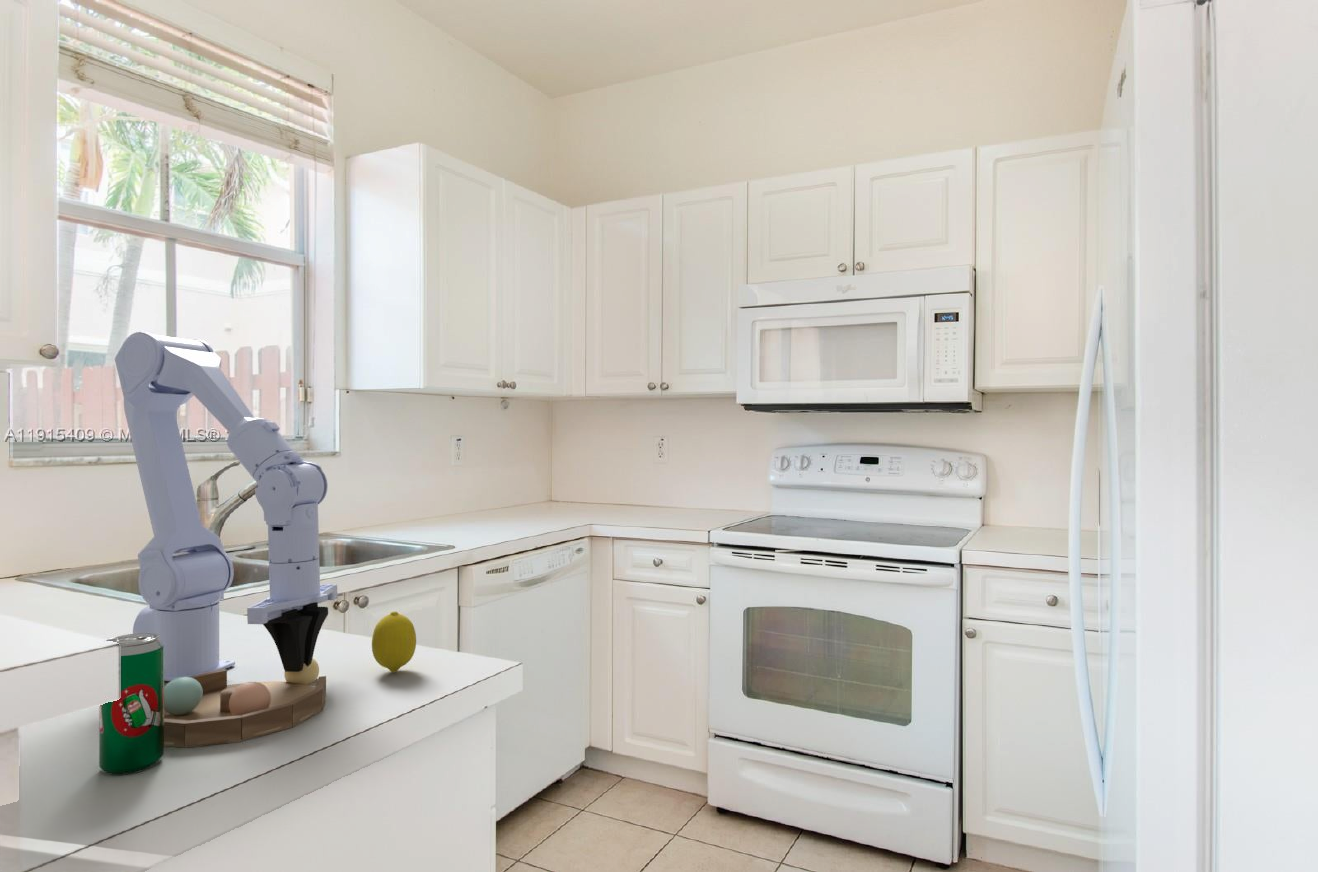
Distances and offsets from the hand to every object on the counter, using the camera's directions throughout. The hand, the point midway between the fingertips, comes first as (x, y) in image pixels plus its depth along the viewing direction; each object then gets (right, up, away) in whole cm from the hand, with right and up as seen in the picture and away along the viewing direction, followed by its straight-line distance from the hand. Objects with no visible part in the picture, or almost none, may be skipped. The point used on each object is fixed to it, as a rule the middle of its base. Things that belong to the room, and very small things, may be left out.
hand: (297, 668), depth 96 cm
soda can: (-5, -2, -23) cm, 24 cm away
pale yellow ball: (0, +1, +3) cm, 3 cm away
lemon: (+10, -2, +5) cm, 12 cm away
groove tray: (-3, -2, -10) cm, 10 cm away
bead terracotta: (+1, -2, -13) cm, 13 cm away
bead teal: (-8, -2, -11) cm, 14 cm away
